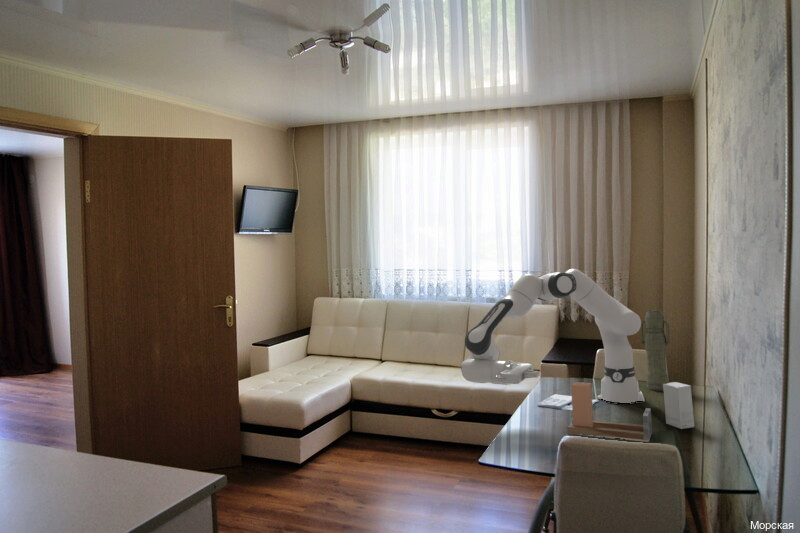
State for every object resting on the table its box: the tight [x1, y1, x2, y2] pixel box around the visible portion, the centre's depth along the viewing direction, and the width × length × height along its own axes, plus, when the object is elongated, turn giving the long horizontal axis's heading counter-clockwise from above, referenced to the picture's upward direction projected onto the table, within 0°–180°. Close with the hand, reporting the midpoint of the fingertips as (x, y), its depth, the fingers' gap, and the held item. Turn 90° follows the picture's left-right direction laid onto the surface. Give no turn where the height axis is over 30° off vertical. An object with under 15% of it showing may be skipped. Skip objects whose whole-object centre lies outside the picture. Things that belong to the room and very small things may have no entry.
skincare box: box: [662, 381, 695, 430], centre depth 213 cm, size 8×6×15 cm
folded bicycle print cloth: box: [536, 393, 600, 411], centre depth 249 cm, size 19×20×2 cm
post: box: [570, 381, 594, 427], centre depth 212 cm, size 5×6×16 cm
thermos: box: [640, 309, 671, 392], centre depth 266 cm, size 9×12×35 cm
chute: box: [566, 407, 653, 443], centre depth 208 cm, size 10×26×9 cm, turn 62°
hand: (538, 374), depth 219 cm, fingers closed
